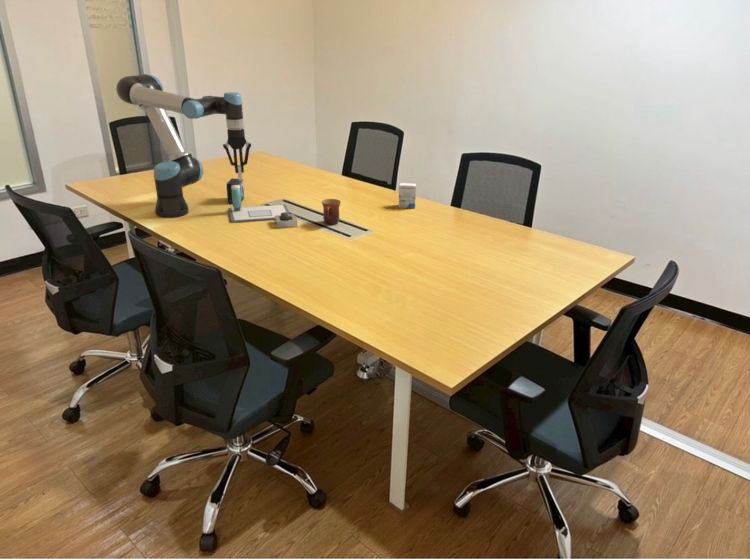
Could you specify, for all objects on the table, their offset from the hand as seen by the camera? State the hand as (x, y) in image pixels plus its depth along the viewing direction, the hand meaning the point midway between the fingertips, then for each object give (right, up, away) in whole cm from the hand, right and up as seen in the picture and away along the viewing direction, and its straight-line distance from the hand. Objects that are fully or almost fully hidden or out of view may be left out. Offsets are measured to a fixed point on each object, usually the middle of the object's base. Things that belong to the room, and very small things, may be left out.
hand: (240, 179), depth 266 cm
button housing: (+22, -21, -5) cm, 31 cm away
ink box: (+80, -10, +24) cm, 84 cm away
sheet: (+8, -15, +7) cm, 19 cm away
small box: (-8, -7, +25) cm, 27 cm away
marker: (-3, -14, +8) cm, 16 cm away
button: (+22, -20, -6) cm, 30 cm away
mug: (+43, -21, -3) cm, 48 cm away
